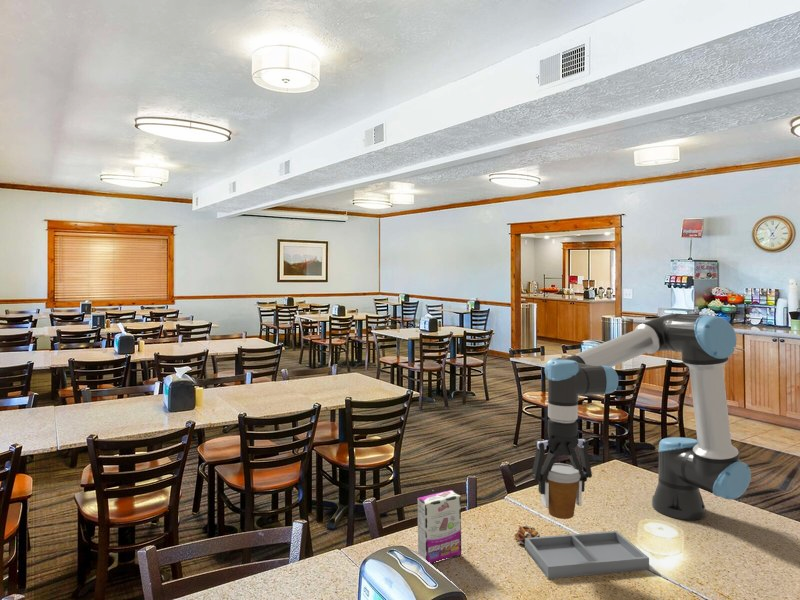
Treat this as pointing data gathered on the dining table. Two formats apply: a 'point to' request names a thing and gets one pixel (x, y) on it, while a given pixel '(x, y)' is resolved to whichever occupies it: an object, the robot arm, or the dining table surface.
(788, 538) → the dining table surface
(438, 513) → the candy bar box
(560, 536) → the gray divided tray
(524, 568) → the dining table surface
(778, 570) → the dining table surface
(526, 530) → the brown lumpy cluster
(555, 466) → the disposable coffee cup
